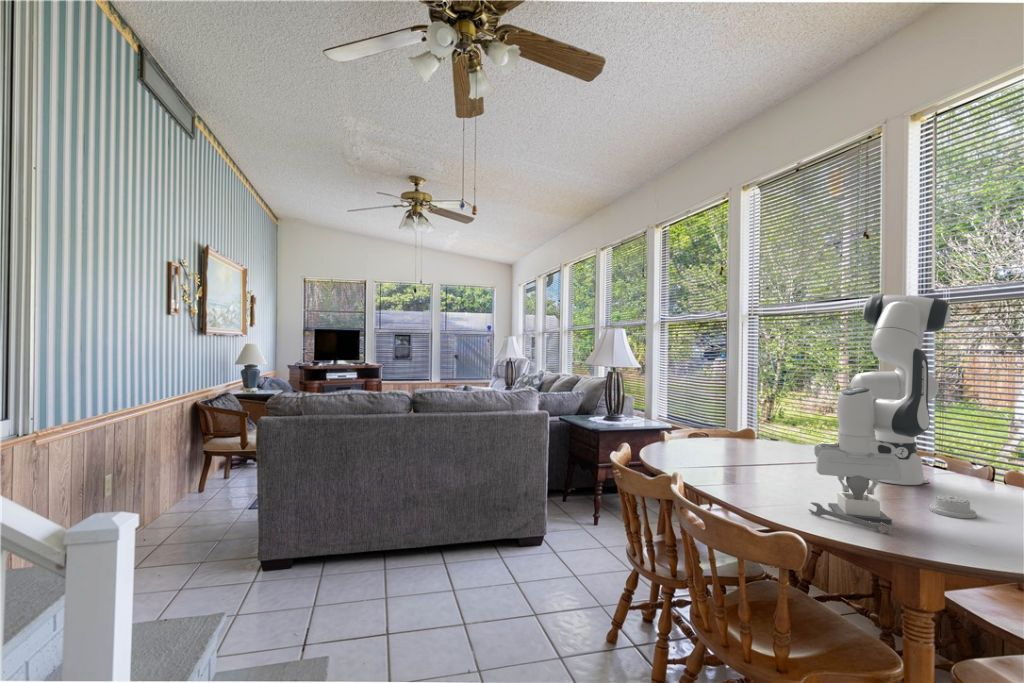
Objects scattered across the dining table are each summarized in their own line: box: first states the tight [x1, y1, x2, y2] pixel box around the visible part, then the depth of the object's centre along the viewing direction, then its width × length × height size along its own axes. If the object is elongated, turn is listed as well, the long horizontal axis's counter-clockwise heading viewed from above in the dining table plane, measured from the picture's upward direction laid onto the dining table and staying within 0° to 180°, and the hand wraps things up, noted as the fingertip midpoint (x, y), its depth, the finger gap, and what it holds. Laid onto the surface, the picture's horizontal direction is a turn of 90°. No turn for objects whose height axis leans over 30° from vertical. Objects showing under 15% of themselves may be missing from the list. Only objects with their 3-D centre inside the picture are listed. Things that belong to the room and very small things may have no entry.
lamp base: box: [827, 491, 893, 524], centre depth 140 cm, size 12×12×5 cm
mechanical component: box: [929, 494, 977, 519], centre depth 140 cm, size 10×4×10 cm
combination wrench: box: [807, 501, 891, 535], centre depth 133 cm, size 4×1×20 cm
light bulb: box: [845, 475, 870, 500], centre depth 140 cm, size 6×5×10 cm
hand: (858, 492), depth 140 cm, fingers closed on light bulb, 4 cm apart
